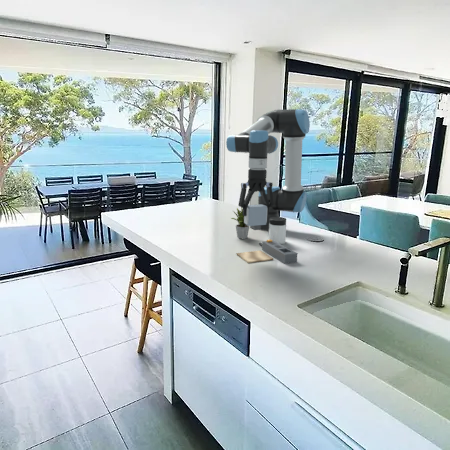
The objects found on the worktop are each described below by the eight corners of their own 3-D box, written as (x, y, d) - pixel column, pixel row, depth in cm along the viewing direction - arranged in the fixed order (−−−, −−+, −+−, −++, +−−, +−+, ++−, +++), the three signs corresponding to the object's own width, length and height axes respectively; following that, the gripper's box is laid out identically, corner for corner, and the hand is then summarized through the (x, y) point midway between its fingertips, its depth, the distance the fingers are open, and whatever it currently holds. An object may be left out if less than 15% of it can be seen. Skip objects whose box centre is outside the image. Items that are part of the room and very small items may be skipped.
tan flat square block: (260, 251, 172) (260, 250, 171) (273, 259, 161) (273, 258, 161) (236, 254, 167) (236, 253, 167) (247, 263, 156) (248, 261, 156)
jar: (265, 242, 186) (266, 219, 183) (271, 238, 193) (272, 216, 190) (282, 245, 181) (283, 221, 178) (288, 241, 188) (289, 218, 185)
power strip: (254, 245, 181) (254, 235, 180) (265, 243, 183) (265, 234, 182) (284, 263, 156) (285, 252, 155) (296, 262, 158) (297, 251, 157)
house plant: (254, 242, 185) (255, 210, 181) (227, 240, 187) (227, 208, 183) (258, 235, 198) (259, 205, 194) (232, 233, 201) (232, 203, 197)
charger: (244, 228, 161) (245, 205, 159) (261, 226, 164) (262, 204, 162) (249, 230, 157) (249, 207, 155) (265, 229, 160) (267, 206, 158)
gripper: (238, 170, 147) (236, 226, 153) (284, 169, 155) (281, 222, 160) (230, 168, 154) (229, 222, 159) (275, 167, 162) (272, 219, 167)
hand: (255, 222), depth 160 cm, fingers closed on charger, 8 cm apart
